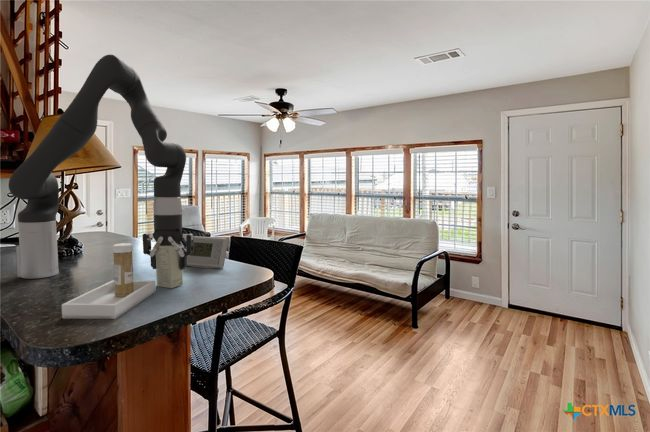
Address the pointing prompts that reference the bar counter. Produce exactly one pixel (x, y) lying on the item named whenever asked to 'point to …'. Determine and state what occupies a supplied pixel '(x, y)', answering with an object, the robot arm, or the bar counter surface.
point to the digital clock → (208, 252)
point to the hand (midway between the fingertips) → (169, 268)
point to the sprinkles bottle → (123, 269)
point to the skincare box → (168, 267)
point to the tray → (106, 301)
